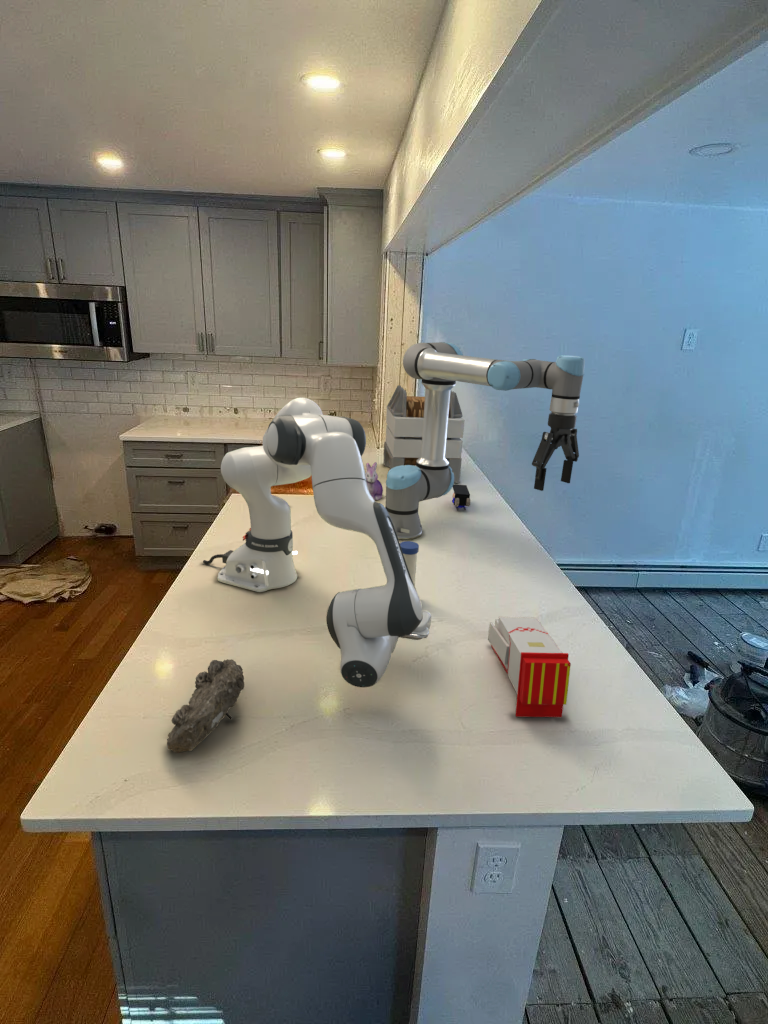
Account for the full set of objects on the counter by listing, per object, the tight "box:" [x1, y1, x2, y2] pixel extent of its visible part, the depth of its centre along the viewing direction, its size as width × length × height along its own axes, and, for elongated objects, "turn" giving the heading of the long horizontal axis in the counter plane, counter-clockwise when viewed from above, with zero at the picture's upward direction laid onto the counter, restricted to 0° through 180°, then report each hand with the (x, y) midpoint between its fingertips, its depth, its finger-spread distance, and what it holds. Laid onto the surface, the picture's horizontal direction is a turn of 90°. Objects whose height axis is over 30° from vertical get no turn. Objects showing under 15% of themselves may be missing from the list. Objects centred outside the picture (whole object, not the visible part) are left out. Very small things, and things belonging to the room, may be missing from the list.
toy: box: [487, 616, 572, 718], centre depth 123 cm, size 12×13×30 cm
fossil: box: [166, 658, 245, 754], centre depth 106 cm, size 22×10×15 cm
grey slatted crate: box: [383, 384, 465, 484], centre depth 268 cm, size 34×33×41 cm
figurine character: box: [451, 483, 471, 512], centre depth 229 cm, size 7×8×15 cm
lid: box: [399, 540, 420, 555], centre depth 151 cm, size 5×5×2 cm
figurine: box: [365, 461, 384, 501], centre depth 233 cm, size 9×10×15 cm
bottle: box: [403, 553, 418, 587], centre depth 154 cm, size 4×4×15 cm
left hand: (392, 602), depth 133 cm, fingers open, 8 cm apart
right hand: (552, 485), depth 166 cm, fingers open, 13 cm apart
